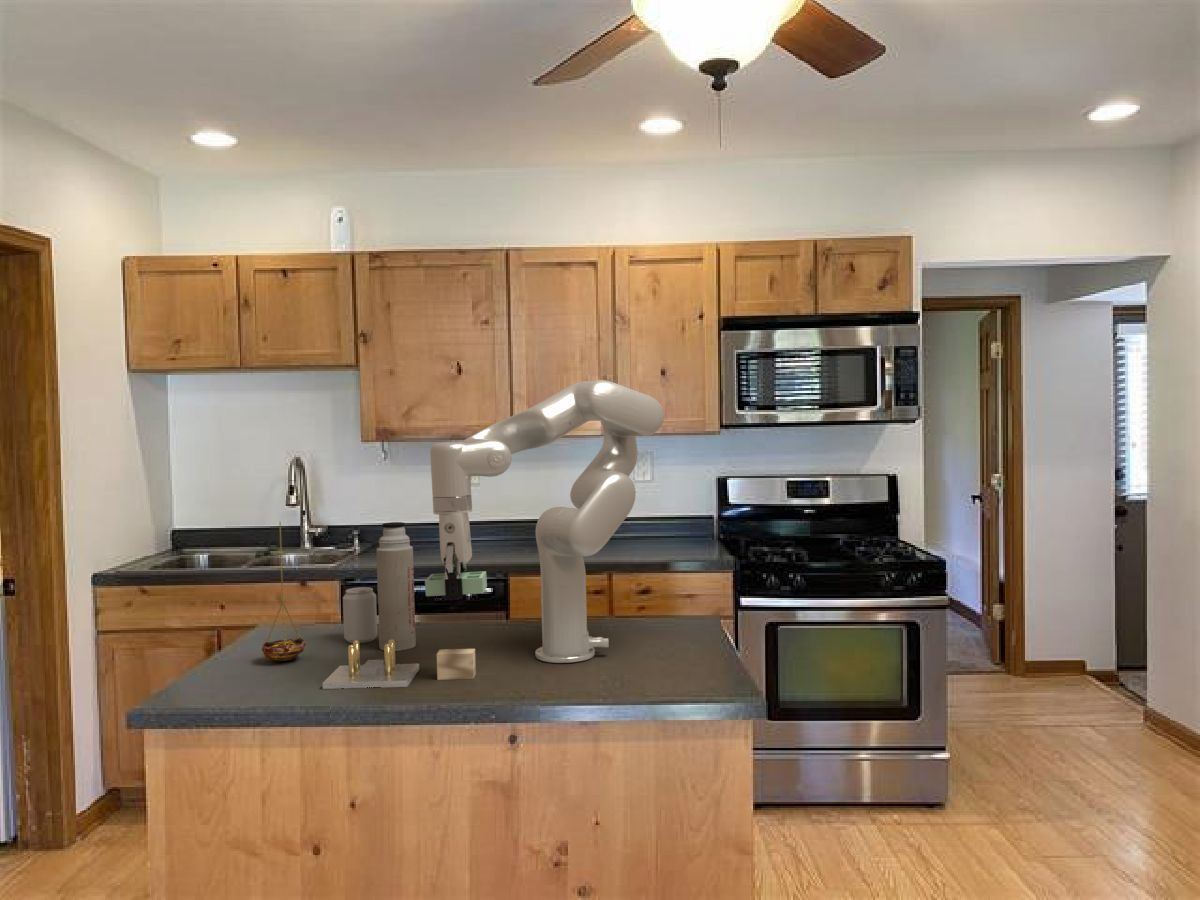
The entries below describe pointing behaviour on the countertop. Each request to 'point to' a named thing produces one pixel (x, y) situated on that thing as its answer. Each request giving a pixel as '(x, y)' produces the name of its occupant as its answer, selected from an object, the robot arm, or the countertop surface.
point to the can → (360, 615)
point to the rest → (456, 664)
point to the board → (470, 583)
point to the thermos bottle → (396, 588)
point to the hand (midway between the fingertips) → (457, 594)
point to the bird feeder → (286, 647)
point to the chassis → (371, 671)
